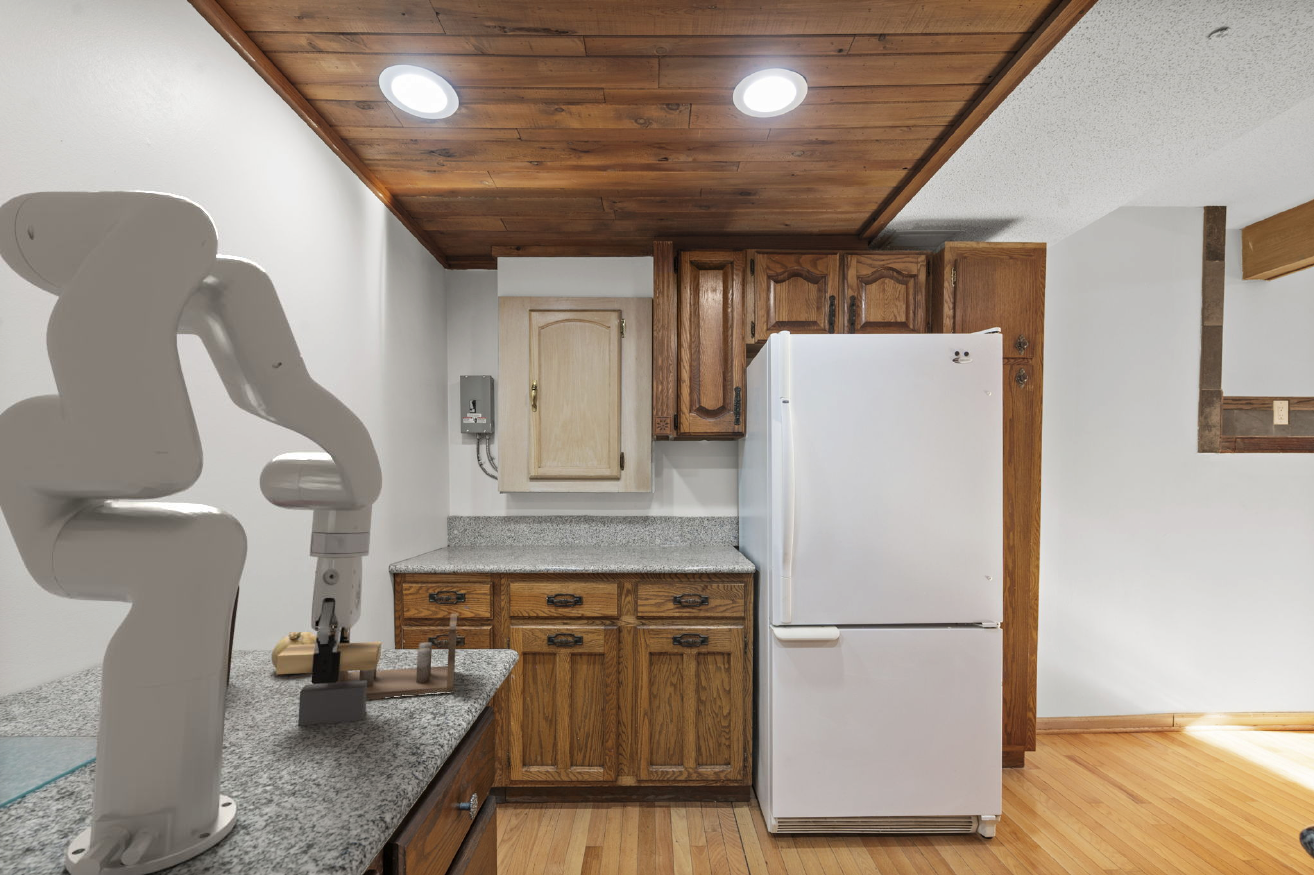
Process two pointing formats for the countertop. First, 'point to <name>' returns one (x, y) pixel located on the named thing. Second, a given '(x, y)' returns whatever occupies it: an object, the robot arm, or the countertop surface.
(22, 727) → the countertop surface
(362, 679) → the shelf cradle
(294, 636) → the onion
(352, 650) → the oak board
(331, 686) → the block
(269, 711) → the countertop surface
